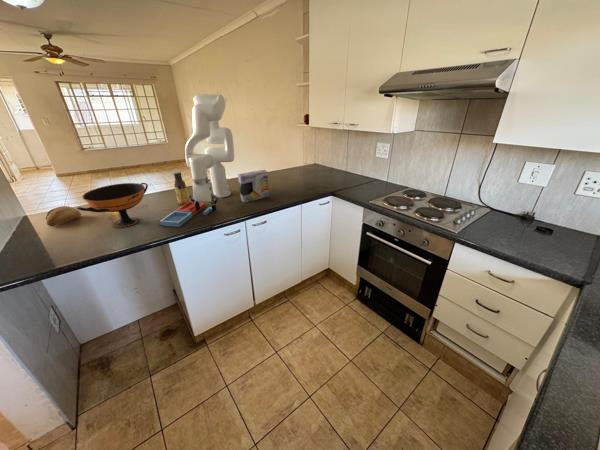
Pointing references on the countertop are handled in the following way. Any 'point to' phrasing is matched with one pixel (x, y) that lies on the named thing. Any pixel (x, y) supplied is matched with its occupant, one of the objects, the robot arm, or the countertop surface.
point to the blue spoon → (207, 210)
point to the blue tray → (176, 218)
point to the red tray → (190, 205)
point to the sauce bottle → (180, 189)
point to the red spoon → (191, 207)
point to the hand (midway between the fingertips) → (206, 210)
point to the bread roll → (62, 215)
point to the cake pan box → (253, 185)
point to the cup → (116, 200)
